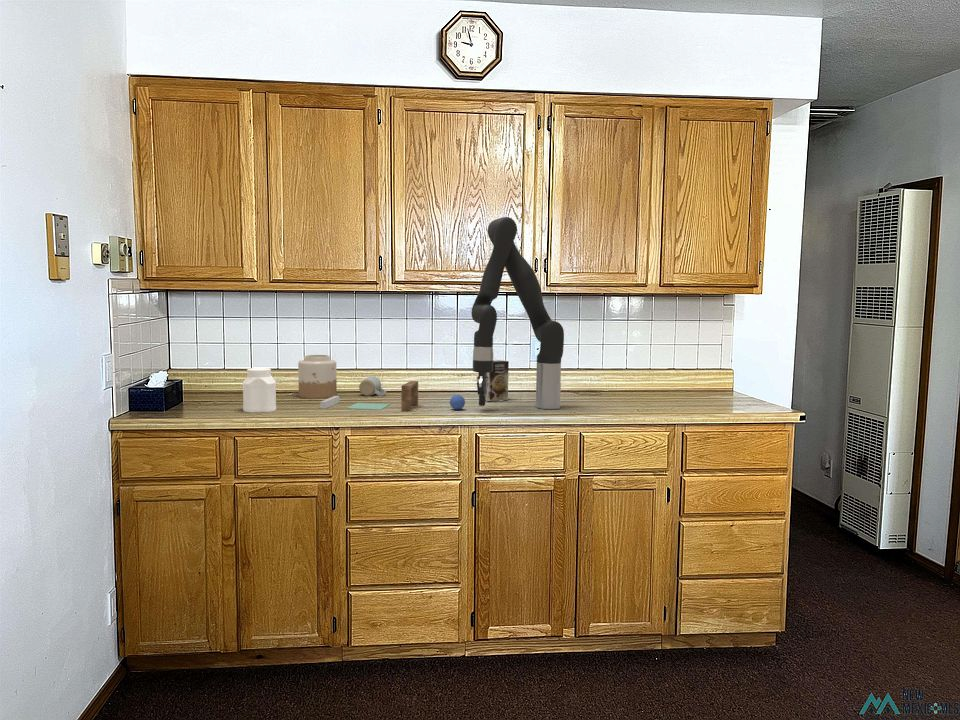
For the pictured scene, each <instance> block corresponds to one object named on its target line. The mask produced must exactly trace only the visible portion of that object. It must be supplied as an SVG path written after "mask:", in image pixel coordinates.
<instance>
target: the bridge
mask: <svg viewBox="0 0 960 720" xmlns="http://www.w3.org/2000/svg"><path fill="white" fill-rule="evenodd" d="M400 398H401V403H400V404H401V405H400V406H401V409H400V410H401V412H411V410H412V408H411V407H417V406H419V380H410V381H408V382H406V383H403V384H401V397H400Z"/></svg>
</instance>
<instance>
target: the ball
mask: <svg viewBox="0 0 960 720" xmlns="http://www.w3.org/2000/svg"><path fill="white" fill-rule="evenodd" d="M449 405H450V407H451V408H452V409H453V410H458V411H460V410H461V409H463V408H464V407H465V405H466V399H465V398H464V396H462V395H461V394H454V395H453V396H451V398H450V400H449Z"/></svg>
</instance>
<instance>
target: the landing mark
mask: <svg viewBox="0 0 960 720" xmlns="http://www.w3.org/2000/svg"><path fill="white" fill-rule="evenodd" d="M390 405H391V404H390V403H373V402H372V403H367V402H357V403H354V404H352V405H351V406H348V407H347V408H346V409H347V410H370V411H371V410H375V411H377V410H378V411H381V410H383V409H384V408H386V407H388V406H390Z"/></svg>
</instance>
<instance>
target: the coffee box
mask: <svg viewBox="0 0 960 720" xmlns="http://www.w3.org/2000/svg"><path fill="white" fill-rule="evenodd" d="M509 363H510V362H509V360H496V359H495V360H493V371H492V372H489V373H487V377H489V378H488V388H487V393H486V395H485V400H486V401H485V402H487V401H497V402H500V401H499V400H509V367H510V366H509Z"/></svg>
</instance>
